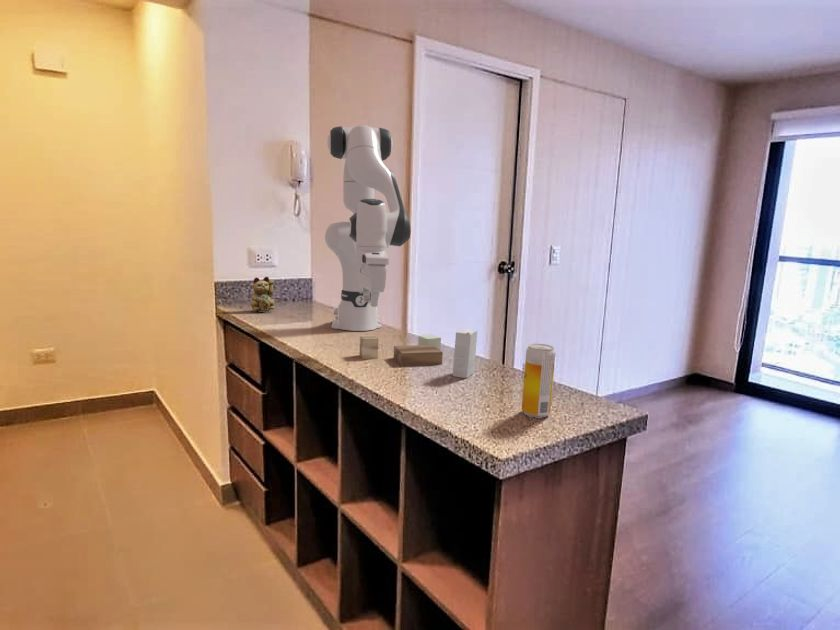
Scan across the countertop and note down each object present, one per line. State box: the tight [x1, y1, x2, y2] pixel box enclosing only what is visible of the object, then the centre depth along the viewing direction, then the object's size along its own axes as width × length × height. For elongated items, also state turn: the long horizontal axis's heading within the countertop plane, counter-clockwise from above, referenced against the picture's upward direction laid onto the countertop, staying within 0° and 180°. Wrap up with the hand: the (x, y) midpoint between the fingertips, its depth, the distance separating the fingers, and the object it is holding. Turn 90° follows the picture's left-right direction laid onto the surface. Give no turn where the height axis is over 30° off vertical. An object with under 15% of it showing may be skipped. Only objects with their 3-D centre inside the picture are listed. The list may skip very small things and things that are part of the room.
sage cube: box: [418, 334, 442, 351], centre depth 168 cm, size 5×5×5 cm
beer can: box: [521, 343, 556, 419], centre depth 115 cm, size 6×6×15 cm
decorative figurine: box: [250, 276, 275, 313], centre depth 225 cm, size 10×8×15 cm
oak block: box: [359, 334, 379, 360], centre depth 158 cm, size 4×4×6 cm
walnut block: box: [393, 344, 444, 367], centre depth 156 cm, size 9×12×4 cm
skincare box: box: [452, 328, 478, 379], centre depth 143 cm, size 6×4×12 cm
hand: (370, 304), depth 156 cm, fingers open, 8 cm apart
